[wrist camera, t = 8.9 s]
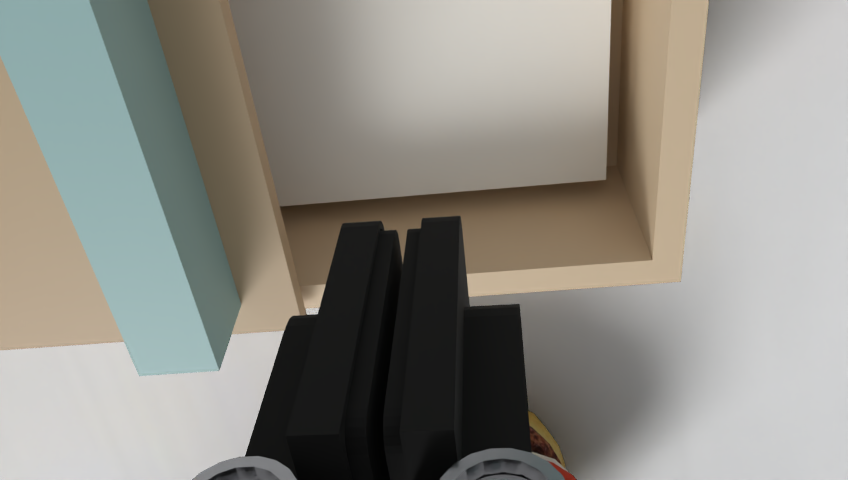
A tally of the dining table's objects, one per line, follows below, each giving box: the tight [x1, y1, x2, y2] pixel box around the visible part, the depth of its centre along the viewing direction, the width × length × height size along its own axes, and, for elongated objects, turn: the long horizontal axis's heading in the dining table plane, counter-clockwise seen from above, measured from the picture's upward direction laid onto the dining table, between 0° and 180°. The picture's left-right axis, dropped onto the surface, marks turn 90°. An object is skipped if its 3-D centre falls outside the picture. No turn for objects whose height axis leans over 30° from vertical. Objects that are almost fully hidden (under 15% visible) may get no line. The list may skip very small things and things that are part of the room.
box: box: [228, 0, 709, 308], centre depth 21 cm, size 22×14×6 cm, turn 96°
